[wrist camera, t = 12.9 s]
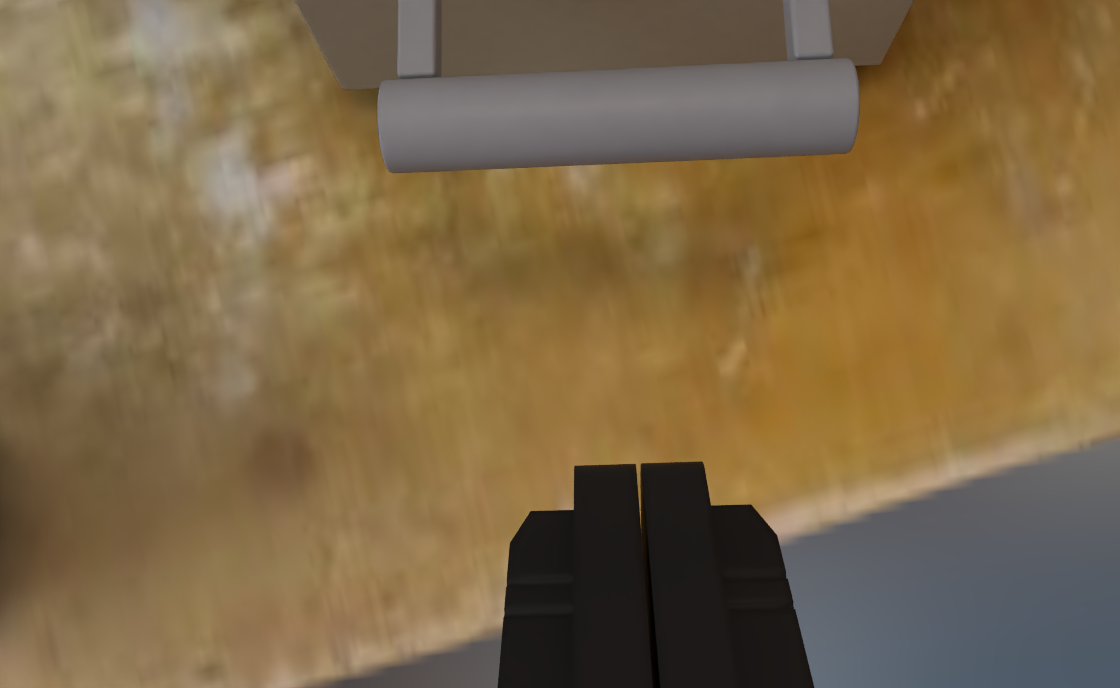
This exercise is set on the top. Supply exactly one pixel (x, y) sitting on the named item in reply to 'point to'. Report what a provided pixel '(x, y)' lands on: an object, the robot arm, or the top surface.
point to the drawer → (604, 77)
